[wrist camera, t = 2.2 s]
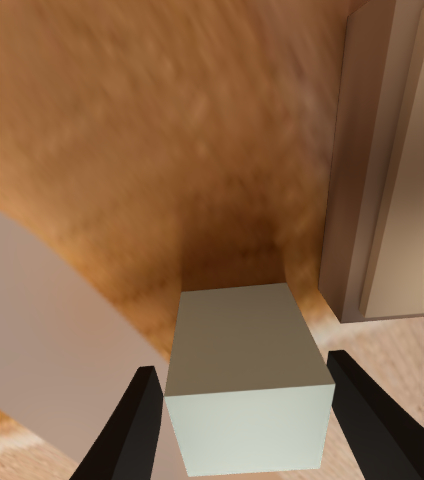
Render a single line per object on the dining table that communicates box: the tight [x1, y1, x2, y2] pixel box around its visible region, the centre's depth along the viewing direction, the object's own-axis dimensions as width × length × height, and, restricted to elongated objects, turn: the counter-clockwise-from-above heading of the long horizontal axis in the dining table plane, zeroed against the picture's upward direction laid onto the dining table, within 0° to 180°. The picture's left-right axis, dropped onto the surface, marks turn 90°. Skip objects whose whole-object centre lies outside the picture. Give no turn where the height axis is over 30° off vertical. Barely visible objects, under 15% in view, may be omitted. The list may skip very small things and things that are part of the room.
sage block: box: [164, 283, 335, 477], centre depth 10 cm, size 5×5×5 cm
